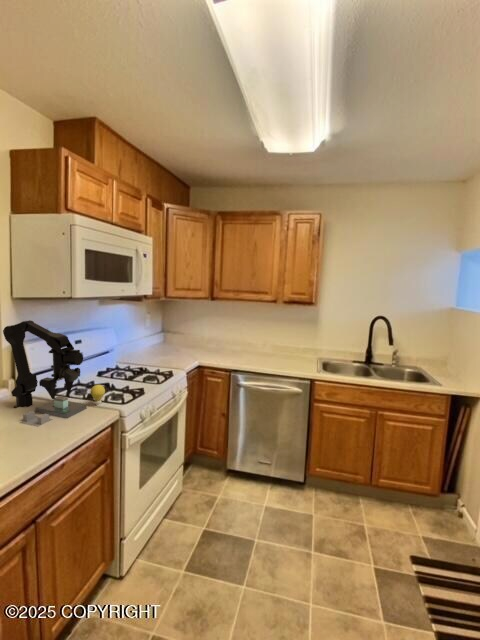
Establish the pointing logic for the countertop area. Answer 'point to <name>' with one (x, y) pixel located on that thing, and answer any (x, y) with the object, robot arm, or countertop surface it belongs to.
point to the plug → (61, 402)
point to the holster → (35, 419)
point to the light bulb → (97, 393)
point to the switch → (59, 412)
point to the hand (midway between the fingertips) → (61, 395)
